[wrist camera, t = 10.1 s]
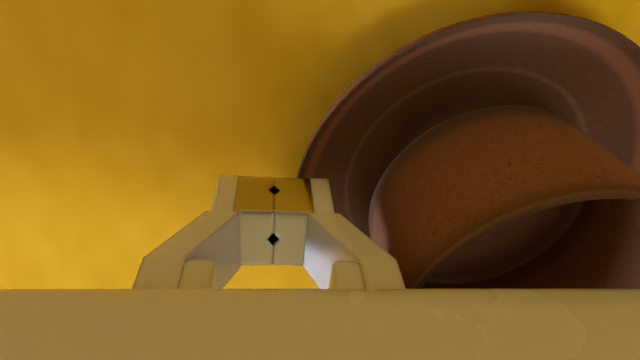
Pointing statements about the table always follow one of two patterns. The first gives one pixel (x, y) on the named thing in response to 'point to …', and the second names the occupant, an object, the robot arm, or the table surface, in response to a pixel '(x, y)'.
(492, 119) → the cup and saucer
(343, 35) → the table surface
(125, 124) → the table surface
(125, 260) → the table surface
